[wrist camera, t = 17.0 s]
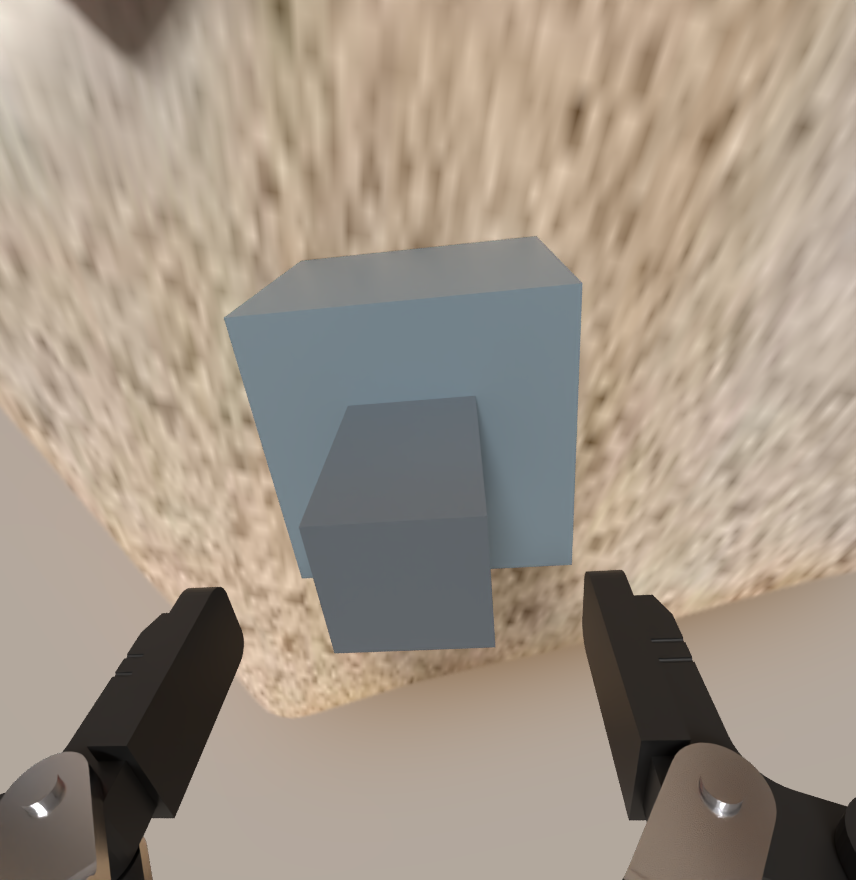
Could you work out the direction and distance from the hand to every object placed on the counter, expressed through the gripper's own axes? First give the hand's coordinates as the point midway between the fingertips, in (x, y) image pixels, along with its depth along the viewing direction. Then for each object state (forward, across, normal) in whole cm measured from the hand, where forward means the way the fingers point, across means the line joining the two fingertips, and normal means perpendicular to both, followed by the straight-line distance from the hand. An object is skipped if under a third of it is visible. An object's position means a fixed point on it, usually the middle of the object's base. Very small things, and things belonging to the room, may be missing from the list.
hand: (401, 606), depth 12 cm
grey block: (+15, 0, 0) cm, 15 cm away
